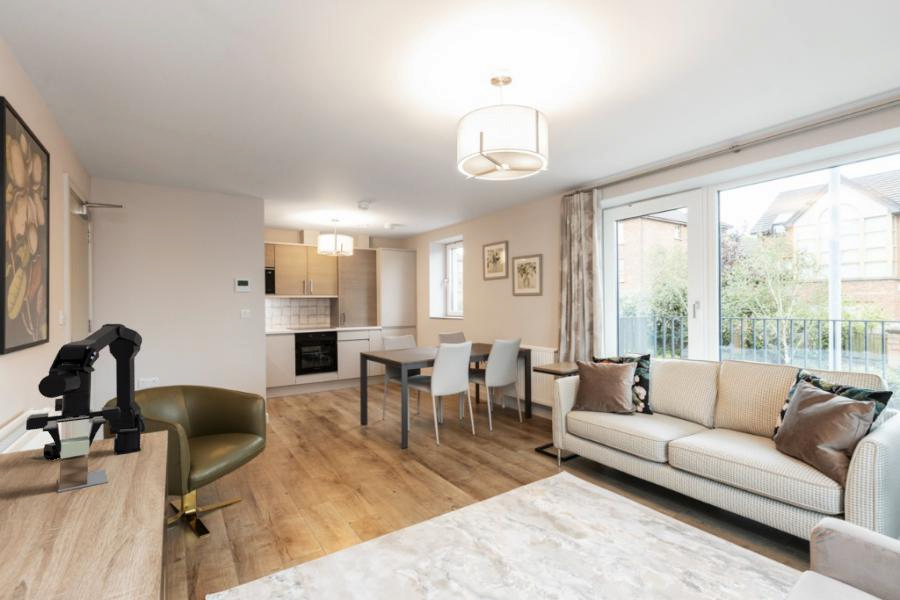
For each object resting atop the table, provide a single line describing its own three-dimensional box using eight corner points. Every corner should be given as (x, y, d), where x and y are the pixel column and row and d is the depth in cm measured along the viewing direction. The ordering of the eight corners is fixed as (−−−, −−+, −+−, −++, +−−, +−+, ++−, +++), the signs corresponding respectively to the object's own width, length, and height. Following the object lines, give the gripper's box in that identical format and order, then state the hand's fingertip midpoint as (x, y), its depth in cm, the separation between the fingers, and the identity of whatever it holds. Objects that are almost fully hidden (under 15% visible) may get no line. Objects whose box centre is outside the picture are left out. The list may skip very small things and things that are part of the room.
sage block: (86, 449, 118) (87, 435, 118) (89, 453, 114) (89, 440, 114) (59, 453, 114) (60, 439, 114) (61, 458, 110) (61, 444, 110)
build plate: (79, 457, 138) (79, 442, 138) (52, 464, 131) (53, 449, 131) (52, 452, 141) (53, 438, 141) (25, 460, 134) (26, 445, 134)
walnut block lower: (86, 478, 117) (86, 465, 117) (87, 484, 113) (87, 470, 113) (59, 483, 114) (59, 469, 114) (59, 489, 109) (59, 475, 110)
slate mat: (104, 470, 124) (104, 469, 124) (108, 482, 115) (108, 481, 115) (58, 479, 117) (58, 478, 117) (57, 492, 108) (57, 491, 108)
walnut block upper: (86, 465, 117) (87, 451, 118) (87, 470, 113) (88, 456, 113) (59, 469, 114) (60, 456, 114) (59, 475, 110) (60, 461, 110)
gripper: (118, 383, 127) (116, 436, 126) (29, 390, 114) (27, 449, 113) (121, 388, 118) (119, 445, 118) (27, 396, 106) (24, 460, 105)
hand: (74, 449), depth 114 cm, fingers closed on sage block, 5 cm apart
